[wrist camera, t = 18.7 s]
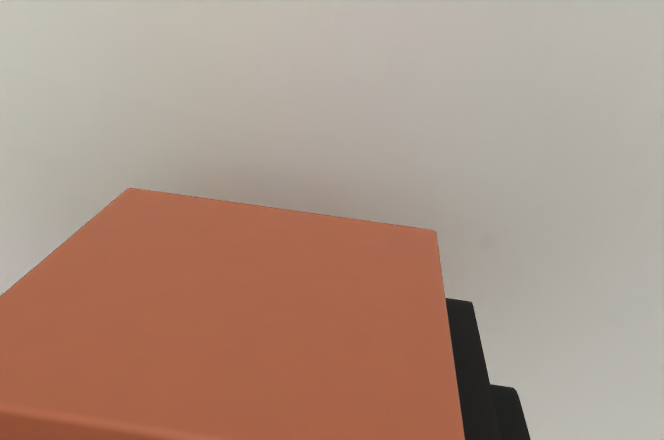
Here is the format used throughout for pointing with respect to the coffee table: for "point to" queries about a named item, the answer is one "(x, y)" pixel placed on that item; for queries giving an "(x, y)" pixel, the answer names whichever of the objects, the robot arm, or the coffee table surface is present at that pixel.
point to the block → (229, 329)
